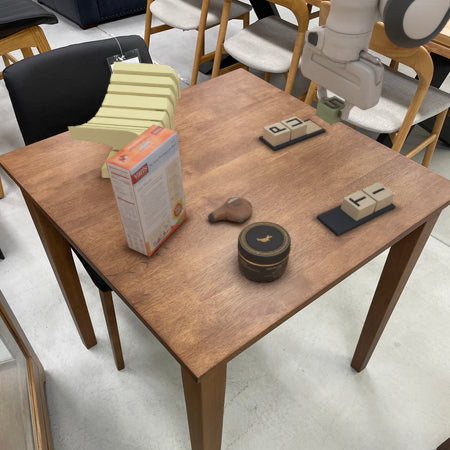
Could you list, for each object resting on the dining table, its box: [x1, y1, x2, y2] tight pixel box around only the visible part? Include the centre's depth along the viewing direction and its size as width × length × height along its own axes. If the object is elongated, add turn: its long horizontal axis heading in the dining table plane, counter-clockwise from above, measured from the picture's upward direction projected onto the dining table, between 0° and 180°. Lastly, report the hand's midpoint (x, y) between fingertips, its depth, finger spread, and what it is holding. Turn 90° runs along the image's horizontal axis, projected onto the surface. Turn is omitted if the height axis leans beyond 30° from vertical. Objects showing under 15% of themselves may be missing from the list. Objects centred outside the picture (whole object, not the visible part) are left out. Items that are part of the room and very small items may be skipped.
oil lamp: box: [207, 196, 253, 223], centre depth 95 cm, size 9×4×8 cm
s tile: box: [315, 95, 349, 126], centre depth 94 cm, size 5×5×3 cm
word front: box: [315, 181, 396, 237], centre depth 95 cm, size 17×7×4 cm, turn 123°
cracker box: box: [105, 124, 188, 257], centre depth 85 cm, size 14×6×21 cm, turn 149°
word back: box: [258, 115, 326, 152], centre depth 116 cm, size 17×7×4 cm, turn 123°
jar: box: [236, 221, 292, 283], centre depth 84 cm, size 10×10×8 cm
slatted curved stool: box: [67, 61, 182, 179], centre depth 102 cm, size 30×16×18 cm, turn 172°
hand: (332, 111), depth 95 cm, fingers closed on s tile, 5 cm apart
